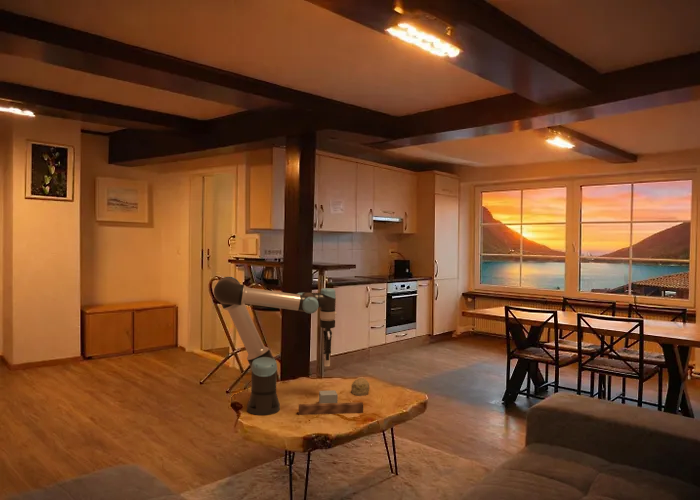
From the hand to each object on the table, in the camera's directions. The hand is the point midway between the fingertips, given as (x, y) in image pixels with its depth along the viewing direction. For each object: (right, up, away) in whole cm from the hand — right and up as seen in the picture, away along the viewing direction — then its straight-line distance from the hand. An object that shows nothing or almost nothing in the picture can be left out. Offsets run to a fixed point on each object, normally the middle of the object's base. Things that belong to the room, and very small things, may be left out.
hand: (326, 366), depth 268 cm
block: (+1, -17, -8) cm, 19 cm away
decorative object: (+17, -17, +11) cm, 26 cm away
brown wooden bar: (+3, -18, -19) cm, 26 cm away
